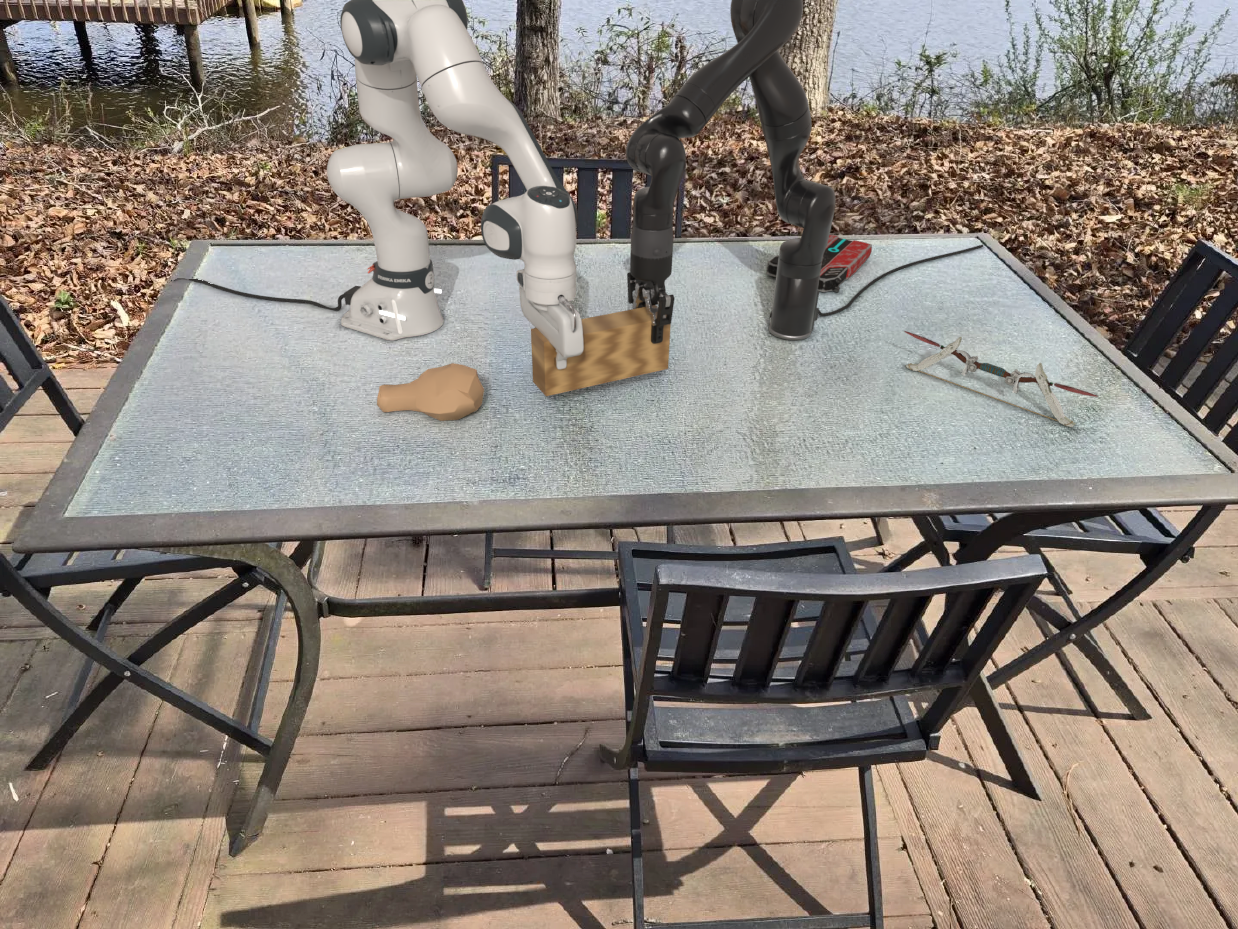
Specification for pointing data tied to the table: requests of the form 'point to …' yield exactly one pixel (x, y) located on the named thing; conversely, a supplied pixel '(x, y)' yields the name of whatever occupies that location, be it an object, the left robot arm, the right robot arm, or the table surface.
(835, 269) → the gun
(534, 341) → the box
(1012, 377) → the bow
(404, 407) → the squash
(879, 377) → the table surface
